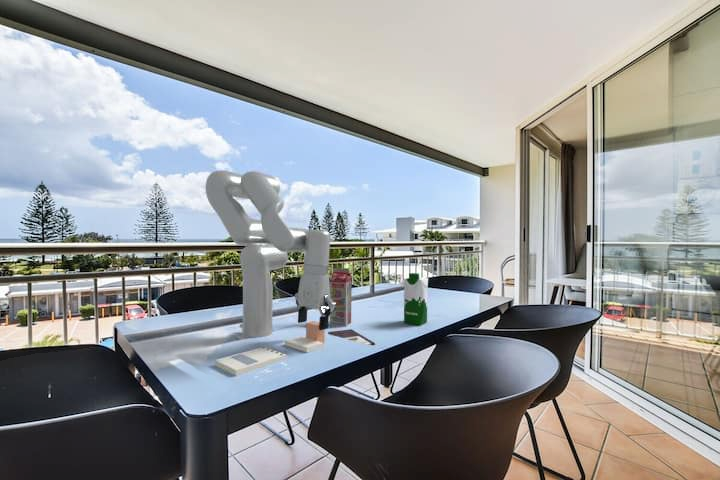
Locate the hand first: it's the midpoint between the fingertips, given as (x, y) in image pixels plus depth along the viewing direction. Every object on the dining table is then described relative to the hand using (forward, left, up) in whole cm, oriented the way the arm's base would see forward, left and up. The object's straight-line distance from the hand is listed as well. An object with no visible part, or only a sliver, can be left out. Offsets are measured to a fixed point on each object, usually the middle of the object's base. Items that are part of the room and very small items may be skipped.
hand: (312, 325), depth 102 cm
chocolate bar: (+3, +14, -7) cm, 16 cm away
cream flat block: (+1, -22, -5) cm, 22 cm away
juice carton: (-13, +26, -7) cm, 30 cm away
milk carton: (+8, +48, -7) cm, 49 cm away
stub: (+1, -3, -5) cm, 6 cm away
